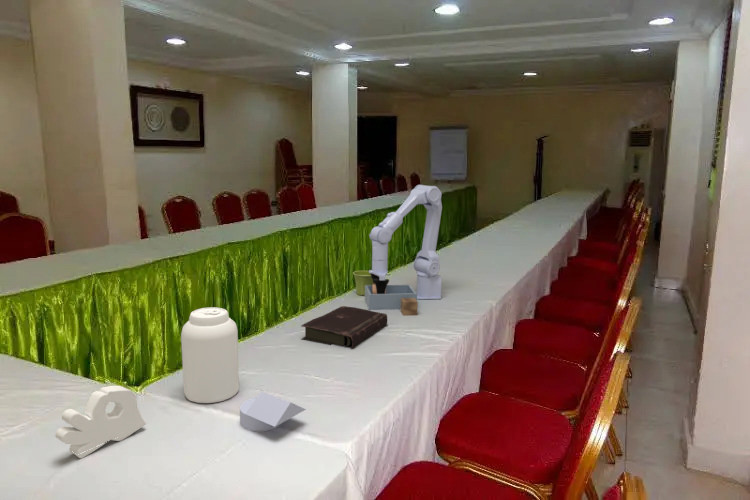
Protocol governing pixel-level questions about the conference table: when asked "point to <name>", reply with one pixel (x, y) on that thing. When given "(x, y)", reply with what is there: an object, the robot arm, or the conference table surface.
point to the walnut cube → (409, 306)
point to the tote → (388, 297)
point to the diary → (344, 326)
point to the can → (210, 356)
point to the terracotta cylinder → (375, 289)
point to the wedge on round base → (266, 412)
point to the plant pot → (362, 281)
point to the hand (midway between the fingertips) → (379, 294)
